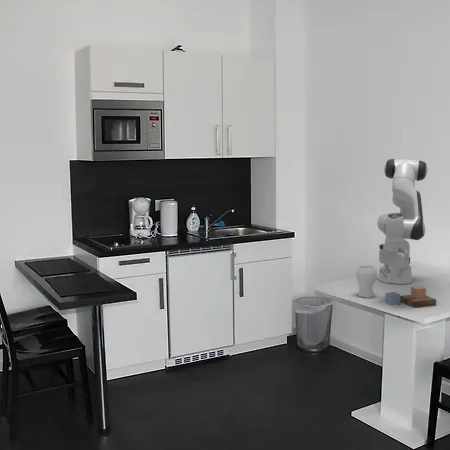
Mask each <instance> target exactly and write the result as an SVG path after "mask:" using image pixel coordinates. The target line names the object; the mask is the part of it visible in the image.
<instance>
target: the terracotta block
mask: <svg viewBox="0 0 450 450" xmlns="http://www.w3.org/2000/svg"><path fill="white" fill-rule="evenodd" d="M426 294H427V288H426V287H425V286H424V287H423V286H420V285H417V286H416V285H415V286H411V287H410V295H411V297H412V298H415V299H424V298H426V296H427V295H426Z"/></svg>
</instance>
